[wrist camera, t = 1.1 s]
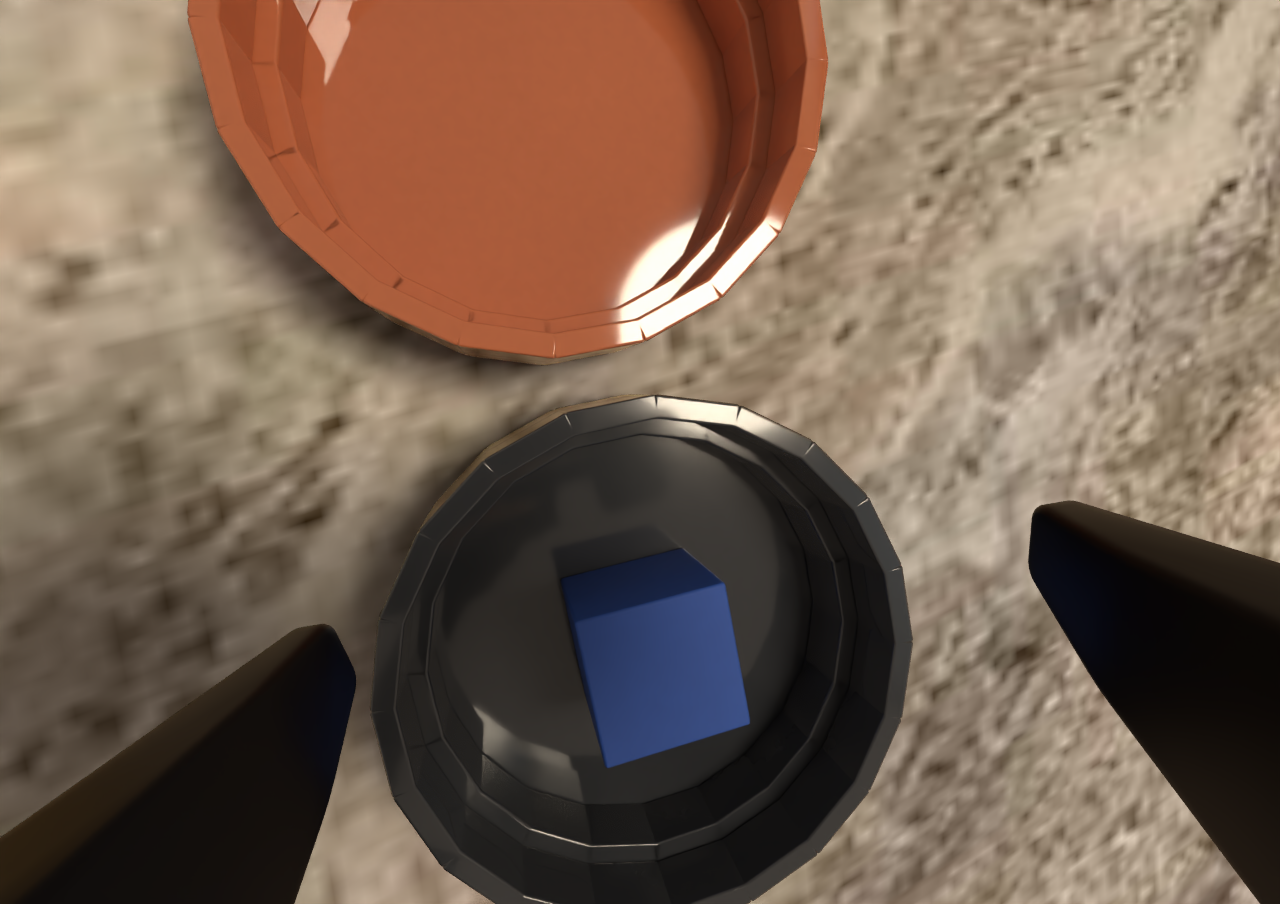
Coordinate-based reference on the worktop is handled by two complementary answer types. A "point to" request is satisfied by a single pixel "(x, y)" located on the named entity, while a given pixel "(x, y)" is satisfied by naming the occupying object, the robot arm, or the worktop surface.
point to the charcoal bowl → (551, 680)
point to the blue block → (655, 654)
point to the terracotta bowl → (522, 153)
